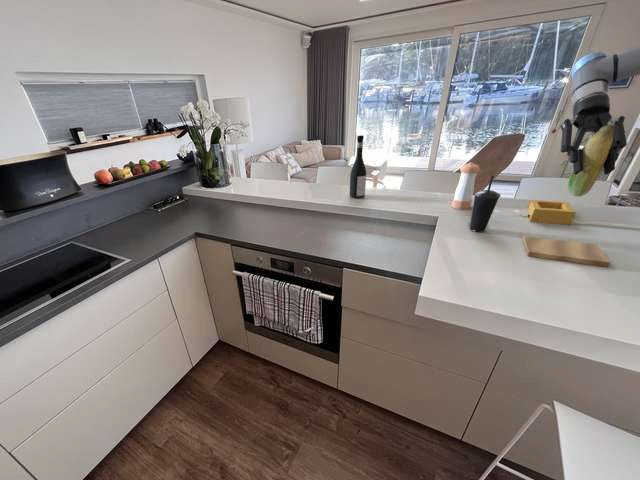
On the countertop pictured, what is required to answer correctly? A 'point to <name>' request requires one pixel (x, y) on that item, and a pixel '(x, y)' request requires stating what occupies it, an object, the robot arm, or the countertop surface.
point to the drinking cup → (483, 207)
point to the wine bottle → (358, 173)
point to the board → (565, 251)
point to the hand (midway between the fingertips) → (593, 171)
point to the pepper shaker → (465, 186)
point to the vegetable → (591, 161)
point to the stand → (550, 212)
